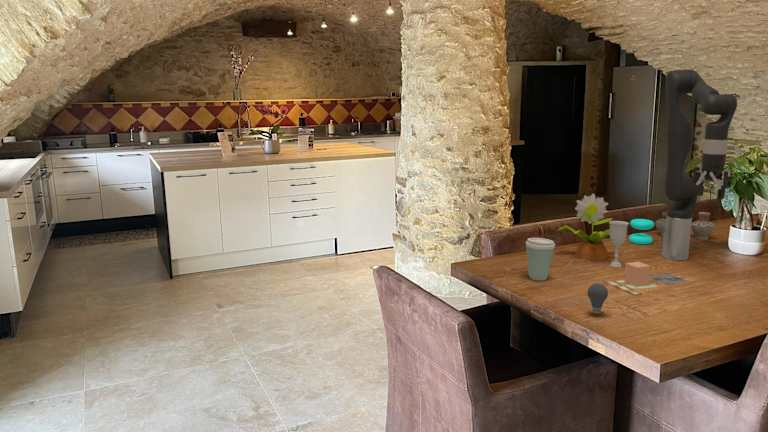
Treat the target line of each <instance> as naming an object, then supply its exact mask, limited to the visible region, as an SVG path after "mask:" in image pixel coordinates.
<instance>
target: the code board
mask: <svg viewBox="0 0 768 432" xmlns="http://www.w3.org/2000/svg"><path fill="white" fill-rule="evenodd" d="M649 279H652V280H654V281H656V282H659V283H662V284H664V285H667V286H668V285H675V284H680V283H681V284H682V283H688V282H689V283H690V281H689V280H686V279H684V278H681V277H678V276H676V275H673V274H671V273H667V272H666V273H662V274H654V275H649ZM602 282H603V283H605V284H607V285H609V286H611V287H614V288H616V289H619V290H621V291H622V292H625V293H628V294H629V295H631V296H636V297H637V296H641V295H643V293H640V292H638V291H636V290H643V289H649V288H655V287H656V288H657V287H658V285H656V284H654V283H652V282H649V285H645V286H638V287H635V286H633V285H630V284H628V283H626V282H625V279H619V280H615V281H613V280H611V279H609V278H607V279H603V280H602Z"/></svg>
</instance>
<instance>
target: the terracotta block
mask: <svg viewBox="0 0 768 432" xmlns="http://www.w3.org/2000/svg"><path fill="white" fill-rule="evenodd" d="M624 272H625V273H624V280H625V282H626V283H628V284H630V285H633V286H635V287H638V286H645V285H649V283H650V278H649V276H651V275H650V274H651V273H650V272H651V265H649V264H645V263H643V262H640V261H632V262H626V263H625V271H624Z"/></svg>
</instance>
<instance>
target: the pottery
mask: <svg viewBox="0 0 768 432" xmlns="http://www.w3.org/2000/svg"><path fill="white" fill-rule="evenodd" d="M697 213H698V220H696V221H692V224H691V231H692V232H693V233H694V239H697V240H703V241H705V240H709V238H710V237H709V236H711V235H712V234H713V232H714V231H715V228H716V225H715V224H714V223H713V222H711V221H710V218H711V217H710V216H711V213H710V212H706V211H700V212H697ZM666 220H667V211H665V212H662V213H661V218H659V219H657V220H656V221H654V225H655V227H656V229H657V230H658V232H660V234H659V235H660V236H661V237H663V234H664V233H665V231H666Z"/></svg>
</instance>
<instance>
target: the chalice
mask: <svg viewBox="0 0 768 432" xmlns="http://www.w3.org/2000/svg"><path fill="white" fill-rule="evenodd" d="M608 224H609V230H610V232H609V235H608V236H609V237H610V238H609V239H610V240H611V243H612V245H613V246H614V247H615V248H614V253H615V254H614V255H613V256H614V260H613V261H611V262H610V264H609V266H608V267H613V268H622V263H621V262H620V261H619V260H618V258H619V257H620V255H619V253H620V252H619V248H620V247H621V246H622V245H623V243H624V242H625V240H626V238H627V236H628V226H629V225H630V222H628V221H624V220H611V221H608Z"/></svg>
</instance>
